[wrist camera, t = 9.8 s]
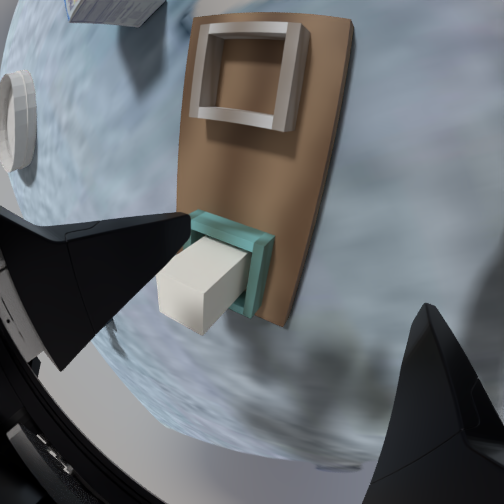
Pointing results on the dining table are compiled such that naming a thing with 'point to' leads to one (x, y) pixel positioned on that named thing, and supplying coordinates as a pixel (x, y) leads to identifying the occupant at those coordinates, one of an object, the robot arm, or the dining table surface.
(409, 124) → the dining table surface
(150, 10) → the medicine box
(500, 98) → the dining table surface
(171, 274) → the plug
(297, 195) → the socket board
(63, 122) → the dining table surface
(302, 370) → the dining table surface
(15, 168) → the dish
